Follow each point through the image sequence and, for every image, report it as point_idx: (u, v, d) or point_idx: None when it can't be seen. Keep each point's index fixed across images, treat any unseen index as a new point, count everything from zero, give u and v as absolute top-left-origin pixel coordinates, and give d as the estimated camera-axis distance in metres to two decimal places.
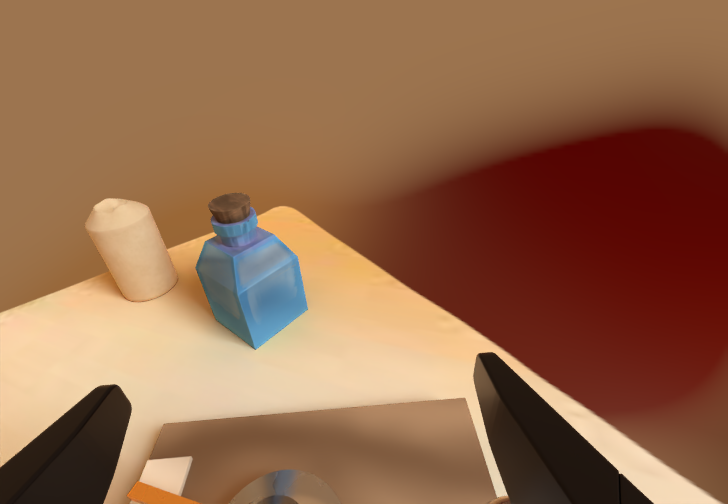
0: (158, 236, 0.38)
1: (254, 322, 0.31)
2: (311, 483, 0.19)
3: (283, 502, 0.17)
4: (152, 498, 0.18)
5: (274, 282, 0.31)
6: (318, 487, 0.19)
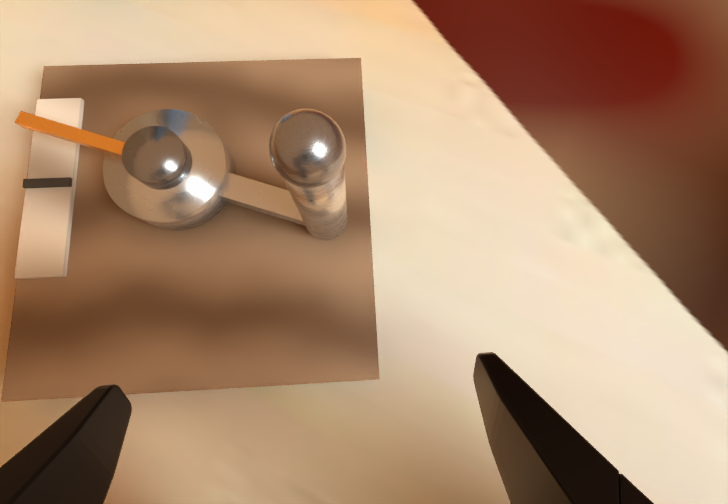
0: None
1: None
2: (192, 121, 0.20)
3: (160, 131, 0.19)
4: (40, 125, 0.20)
5: None
6: (198, 124, 0.20)
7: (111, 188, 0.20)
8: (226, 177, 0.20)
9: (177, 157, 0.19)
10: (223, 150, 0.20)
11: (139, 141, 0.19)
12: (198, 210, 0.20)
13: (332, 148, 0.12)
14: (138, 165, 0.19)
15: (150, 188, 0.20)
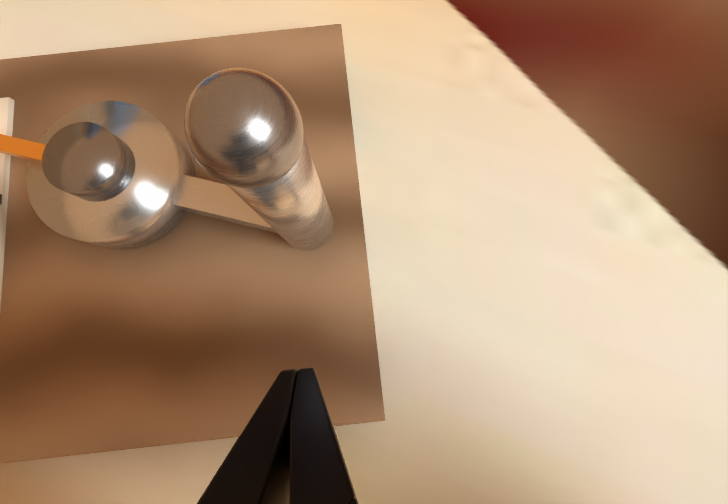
0: None
1: None
2: (133, 114, 0.16)
3: (89, 128, 0.15)
4: None
5: None
6: (141, 117, 0.16)
7: (37, 204, 0.16)
8: (179, 180, 0.16)
9: (111, 159, 0.15)
10: (173, 147, 0.16)
11: (63, 142, 0.15)
12: (145, 223, 0.16)
13: (275, 125, 0.08)
14: (62, 173, 0.15)
15: (85, 200, 0.16)
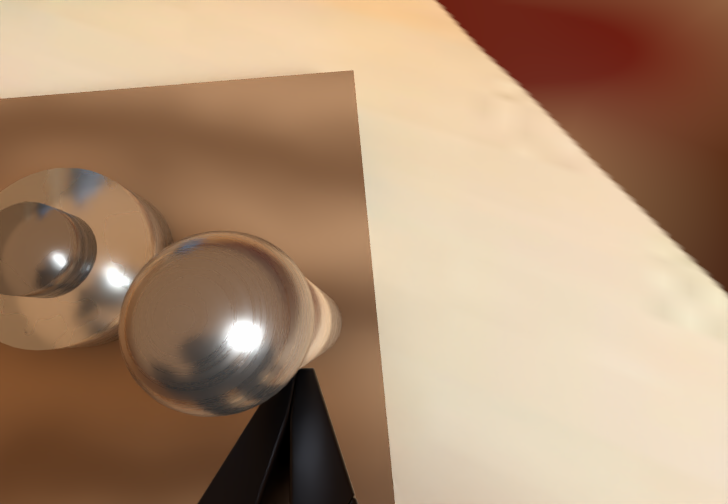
0: None
1: None
2: (97, 185, 0.13)
3: (36, 211, 0.12)
4: None
5: None
6: (107, 190, 0.13)
7: None
8: None
9: (62, 252, 0.12)
10: (145, 228, 0.13)
11: (2, 229, 0.12)
12: (107, 327, 0.13)
13: (270, 348, 0.05)
14: None
15: (30, 297, 0.13)
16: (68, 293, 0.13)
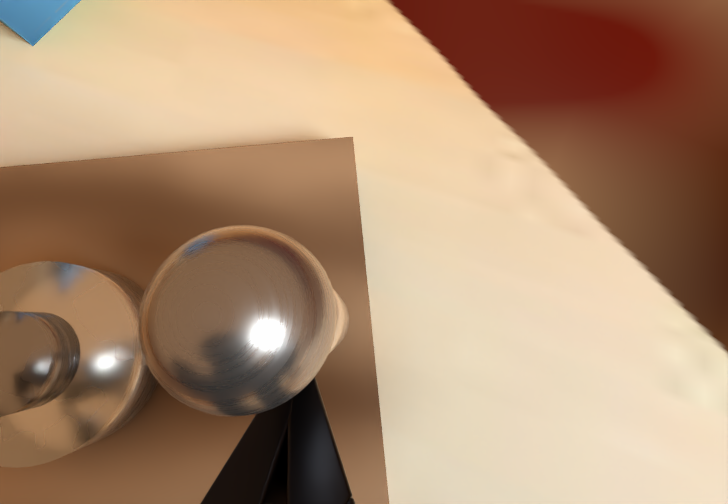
0: None
1: None
2: (50, 273, 0.12)
3: None
4: None
5: None
6: (62, 273, 0.12)
7: None
8: None
9: (42, 351, 0.11)
10: (118, 295, 0.12)
11: None
12: (119, 406, 0.12)
13: (303, 314, 0.04)
14: None
15: (28, 410, 0.12)
16: (66, 390, 0.12)
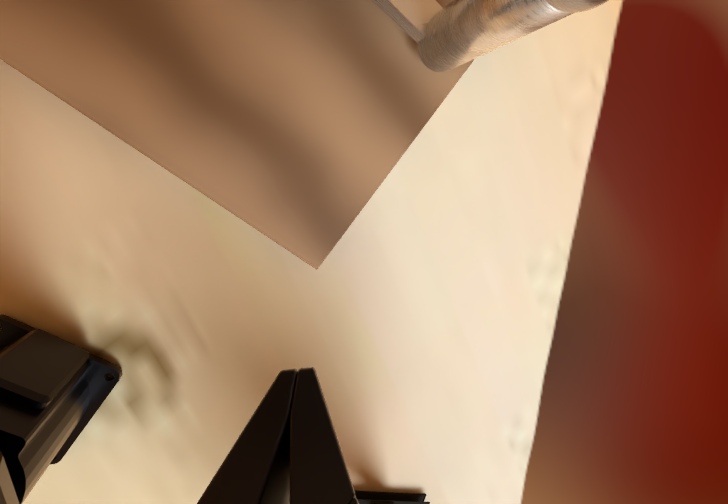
0: None
1: None
2: None
3: None
4: None
5: None
6: None
7: None
8: None
9: None
10: None
11: None
12: None
13: None
14: None
15: None
16: None
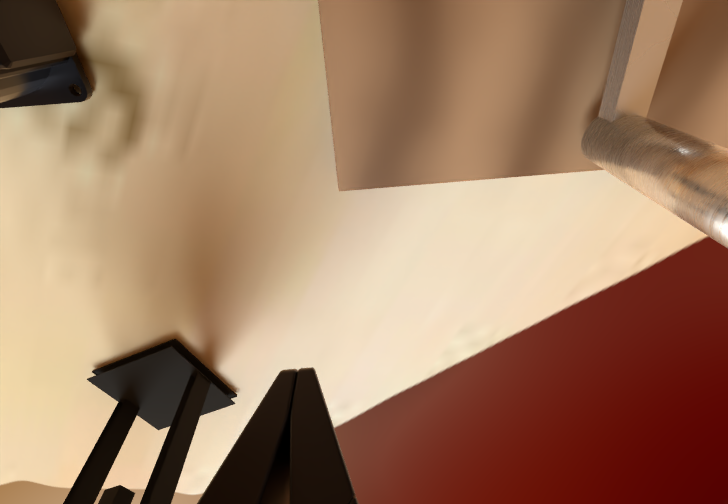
0: None
1: None
2: None
3: None
4: None
5: None
6: None
7: None
8: None
9: None
10: None
11: None
12: None
13: None
14: None
15: None
16: None
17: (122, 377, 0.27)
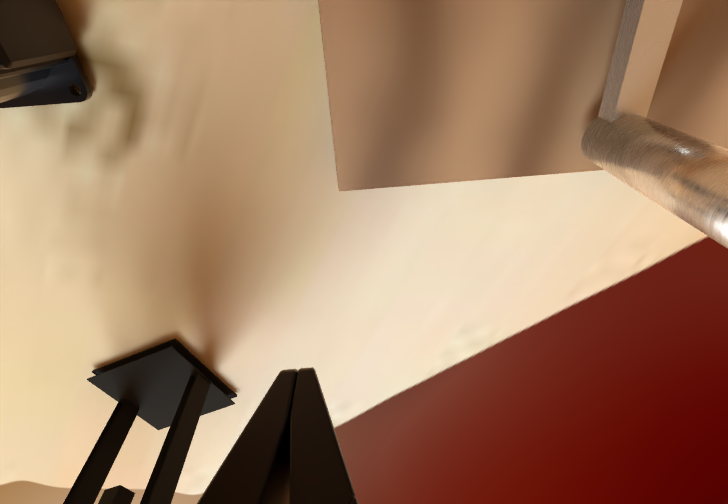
0: None
1: None
2: None
3: None
4: None
5: None
6: None
7: None
8: None
9: None
10: None
11: None
12: None
13: None
14: None
15: None
16: None
17: (122, 377, 0.27)
